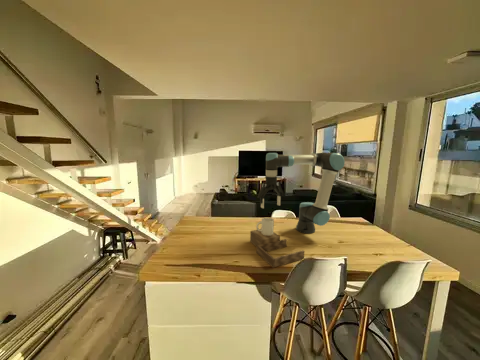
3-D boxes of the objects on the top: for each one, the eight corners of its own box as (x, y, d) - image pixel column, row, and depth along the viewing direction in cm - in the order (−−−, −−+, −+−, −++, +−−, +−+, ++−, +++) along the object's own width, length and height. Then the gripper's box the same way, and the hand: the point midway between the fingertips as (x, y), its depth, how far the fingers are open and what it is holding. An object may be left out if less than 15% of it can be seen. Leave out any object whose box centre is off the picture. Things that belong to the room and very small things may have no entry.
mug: (256, 236, 146) (257, 221, 144) (255, 231, 154) (255, 217, 152) (274, 236, 147) (275, 221, 145) (271, 231, 155) (272, 217, 153)
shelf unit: (272, 236, 164) (272, 226, 163) (304, 258, 134) (304, 246, 132) (245, 242, 154) (245, 231, 153) (272, 267, 124) (273, 254, 122)
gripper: (282, 174, 154) (281, 202, 158) (252, 176, 143) (252, 207, 147) (289, 175, 148) (288, 205, 151) (258, 178, 137) (258, 210, 140)
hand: (270, 206), depth 149 cm, fingers open, 13 cm apart
